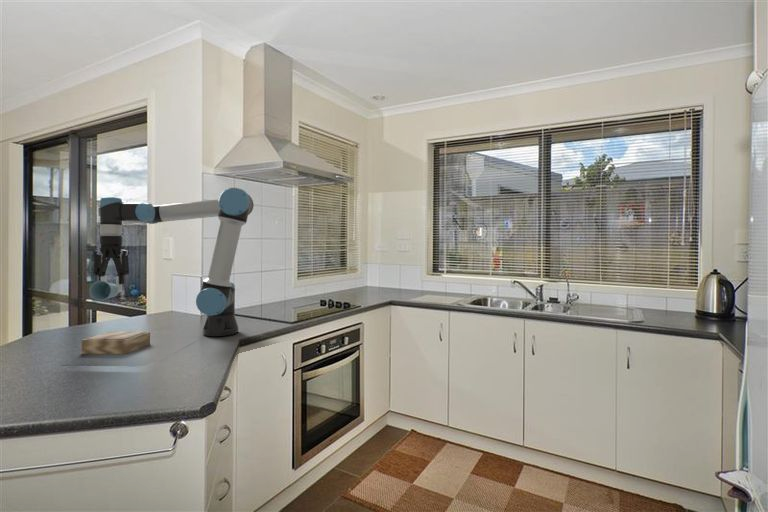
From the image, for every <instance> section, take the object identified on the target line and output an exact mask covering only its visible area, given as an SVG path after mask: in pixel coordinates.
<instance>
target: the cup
mask: <svg viewBox="0 0 768 512" xmlns="http://www.w3.org/2000/svg"><path fill="white" fill-rule="evenodd" d="M88 293H89V296H90V297H91V298H92V299H93V300H94V301H97V302H98V301H99V302H101V301H105V300H108V299H111V298H114V297H117V296H118V295H119V293H117V287H116V283H112V282H108V281H107V282H105V281H99V280H97V281H95V282H93V283H92V284H91V285H90V287H89V290H88Z"/></svg>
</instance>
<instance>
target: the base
mask: <svg viewBox="0 0 768 512" xmlns="http://www.w3.org/2000/svg"><path fill="white" fill-rule="evenodd" d="M149 345H151V331H117V330H115V331H114V330H113V331H111V330H110V331H108V332H104V333H101V334H97V335H94V336H91V337H87V338H84V339H81V354H82V355H83V354H84V355H85V354H87V355H88V354H89V355H90V354H91V355H127V354H129V353H132V352H134V351H137V350H140V349H141V348H144V347H147V346H149Z"/></svg>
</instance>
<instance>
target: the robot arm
mask: <svg viewBox="0 0 768 512" xmlns="http://www.w3.org/2000/svg"><path fill="white" fill-rule="evenodd" d="M254 207H255V206H254V200H253V198H252V197H251V195H249V194H248V192H246V191H245V190H244V189H241V188H239V187H229V188H226V189H225V190H224V191H222V192H221V194H220V195H219V198H218V199H211V200H210V199H209V200H208V199H207V200H200V201H199V200H198V201H197V200H196V201H190V202H189V201H188V202H177V203H168V204H167V203H166V204H157V205H156V204H155V205H153V204H152V203H149V202H123V201H122V198H120V197H115V196H103V197H101V198H100V201H99V233H100V237H99V244H100V248H99V249H98V250H97V249H96V250H93V251H92V252H93V253H92V254H93V257H94V258H93V274H94V276H95V275H96V276H97V277H98V281H105V282H108V276H107V274H106V273H107V270H108V266H109V263H110V261H111V259H112V261H113V262H114V266H115V269H116V272H117V276H115V284H116V287H117V293H118V294H119V293H123V285H124V283H125V276H127V275H129V274H130V267H129V256H130V250H127V249H123V247H122V245H123V237H122V235H123V222H140V223H145V224H149V225H153V224H155V225H156V224H158V223H165V222H172V221H173V222H174V221H185V220H194V219H196V220H197V219H205V218H206V219H207V218H216V217H217V218H218V220H219V221H220V223H219V228H218V231H217V236H216V240H215V245H214V249H213V252H212V258H211V262H210V266H209V271H208V276H207V278H205V279H203V280H202V284H201V289H200V291H199V292H198V294H197V295H196V298H195V304H196V308H197V309H198V311H200V313H202V314H203V315H206V318H205V322H204V325H203V328H202V335H203V336H209V337H210V336H211V337H224V336H232V335H235V334H234V333H236V332H238V331H239V325H238V321H237V318H236V315H235V313H236V312H235V303H236V300H235V299H236V297H235V296H236V294H235V293H236V287H235V284H234V283H233V282H231V281H230V280H231V276H232V275H231V274H232V270H233V265H234V262H235V256H236V254H237V249H238V243H239V240H240V234H241V230H242V227H243V226H244V225H246V224H247V221H248V218H249V217H248V216H249V215H250V214H251V213H252V211H253V210H254ZM238 333H239V332H238ZM231 334H232V335H231ZM236 334H237V333H236Z"/></svg>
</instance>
